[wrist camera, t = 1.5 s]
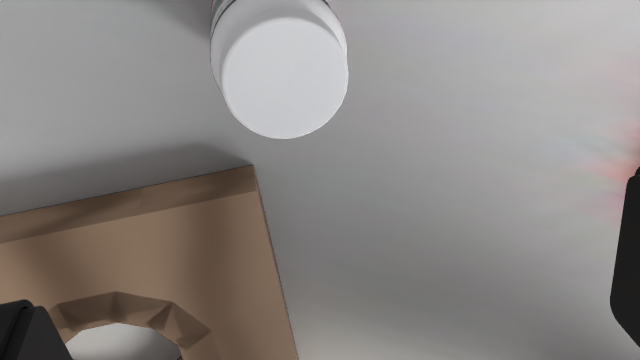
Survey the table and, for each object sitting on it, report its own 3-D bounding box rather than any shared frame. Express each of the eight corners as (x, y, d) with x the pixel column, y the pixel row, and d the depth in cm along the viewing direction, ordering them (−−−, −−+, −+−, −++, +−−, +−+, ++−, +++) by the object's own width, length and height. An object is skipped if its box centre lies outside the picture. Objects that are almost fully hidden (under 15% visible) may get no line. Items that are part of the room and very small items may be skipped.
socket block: (253, 164, 29) (256, 190, 27) (309, 406, 38) (315, 439, 36) (-126, 242, 28) (-154, 275, 25) (26, 471, 37) (15, 510, 35)
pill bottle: (341, 25, 26) (391, 93, 19) (257, 88, 27) (273, 177, 20) (277, -69, 24) (305, -31, 17) (186, 3, 25) (177, 68, 17)
